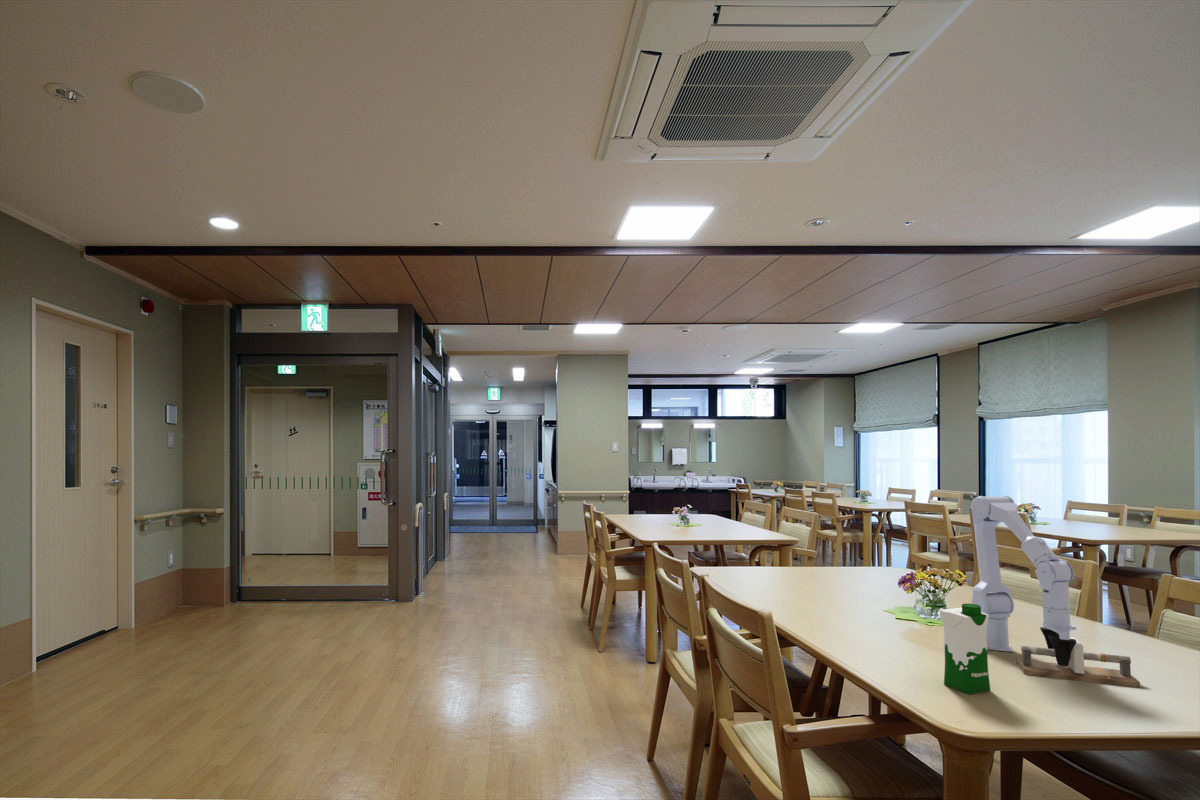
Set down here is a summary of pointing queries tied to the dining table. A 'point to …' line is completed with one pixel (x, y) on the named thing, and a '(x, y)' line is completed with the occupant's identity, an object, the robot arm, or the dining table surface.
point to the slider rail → (1066, 672)
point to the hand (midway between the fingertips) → (1058, 661)
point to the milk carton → (966, 648)
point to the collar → (1077, 658)
